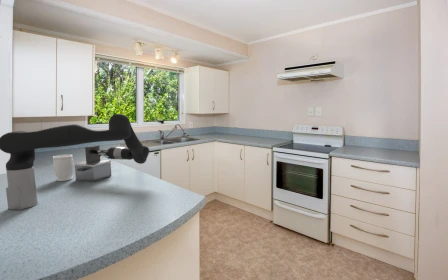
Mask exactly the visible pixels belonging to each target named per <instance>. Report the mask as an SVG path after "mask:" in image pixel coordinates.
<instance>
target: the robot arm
mask: <svg viewBox="0 0 448 280" xmlns="http://www.w3.org/2000/svg"><path fill="white" fill-rule="evenodd" d="M115 141H117V142H118V141H124V144H125V146H126V147H123V146H111V147H109V148H104V149H100V150H95V151H94V153H95V154H98V156H100V157H101V156H104V157H108V159H110V160H128V161H129V160H133V161H134V162H135V163H136V164H139V165H140V164H141V165H143V164H145V163H146V162H147V159H148V157H149V155H150V148H149V147H148V146H146V145H143V144H142V143H141V141H140V139H139V138H138V136H137V135H136V132H135V131H134V129H133V127H132V124H131V121H130V118H129V117H128V116H127V115H125V114H123V113H122V114H121V113H115V114H112V115H111V116H110V117H109V119H108V129H106V130H104V129H103V130H96V129H91V128H90V127H87V126H84V125H81V124H66V125H59V126H55V127H50V128H44V129H41V130H36V131H23V130H19V131H11V132H6V133H5V134H3V135H1V136H0V151H1V152H3V153H6V154H9V155H10V156H9V159H8V160H7V162H6V163H5V171H6V179H7V187H5V192H6V194H5V195H6V200H7V201H6V202H7V208H8V210H13V211H15V210H17V211H20V210H21V211H22V210H23V209H24V210H25V209H29V208H31V207H34V206H36V205H37V204H38V196H37V195H38V194H37V187H36V185H37V184H36V176H35V175H36V174H35V166H34V165H35V164H34V163H35V160H36V149H37V150H38V149H45V148H46V149H48V148H51V149H52V148H63V147H71V146H77V145H84V144H91V143H100V142H115Z"/></svg>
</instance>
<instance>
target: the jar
mask: <svg viewBox="0 0 448 280" xmlns="http://www.w3.org/2000/svg"><path fill="white" fill-rule="evenodd" d="M73 155H74V154H69V153H68V154H67V153H65V154H58V155H53V156H52V159H53V162H52V165H53V171H54V174H55V176H56V181H57V182H65V181H70V180H73V179H74V177H73V174H74V170H75V163H74V159H73V157H74V156H73Z"/></svg>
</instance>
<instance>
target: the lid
mask: <svg viewBox="0 0 448 280" xmlns="http://www.w3.org/2000/svg"><path fill="white" fill-rule="evenodd" d="M100 148H101V147H100V145H98V144H97V145H96V144H95V145H89V146H85V147H84V150H85V161H84V160H83V161H81V162H77V163H76V162H75V163H74V166H76V165H77V166H90V167H95V166H98V165H102V164H105V163H109V162H112V159H110V160H108V159H101V156H98V154H95V153H94V151H95V150H101V149H100Z"/></svg>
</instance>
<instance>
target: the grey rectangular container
mask: <svg viewBox="0 0 448 280" xmlns="http://www.w3.org/2000/svg"><path fill="white" fill-rule="evenodd" d="M111 162H112V161H111ZM111 162H109V163H105V164H102V165H98V166H95V167H90V166H77V165H74V174H75V181H79V182H80V181H81V182H91V183H96V182H98V181H101V180H104V179H107V178H110V177H112V166H111V165H112V164H111Z"/></svg>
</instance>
